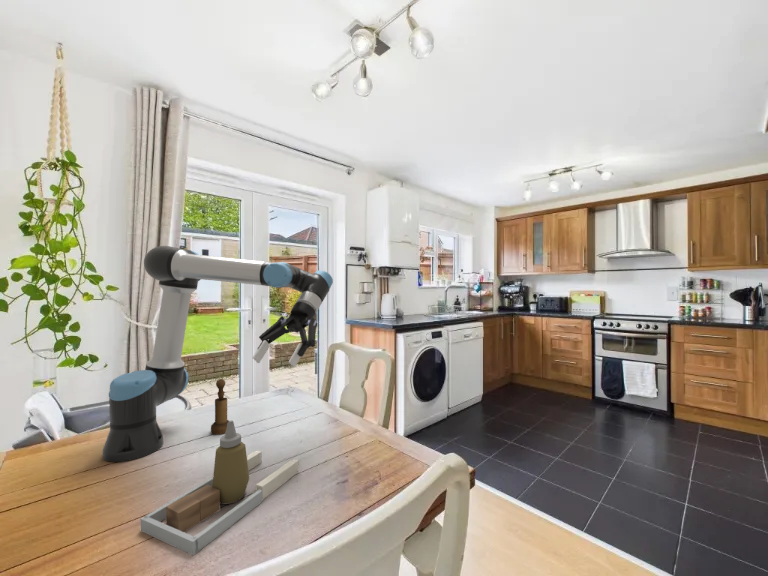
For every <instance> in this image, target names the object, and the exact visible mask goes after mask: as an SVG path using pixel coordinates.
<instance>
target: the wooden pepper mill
mask: <svg viewBox="0 0 768 576" xmlns="http://www.w3.org/2000/svg"><path fill="white" fill-rule="evenodd" d="M215 386H216V388H217V390H218V391H217V398H215V399H214V422H212V424H211V426H210V433H211V434H213V435H223V434H224V435H225V433H226V429H227V424H228V421H230V420H229V419H228V398H227V397H225V391H224V388H225V386H226V380H225V379H222V378H220V379H218V380H216V382H215Z"/></svg>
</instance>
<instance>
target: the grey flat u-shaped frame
mask: <svg viewBox="0 0 768 576" xmlns="http://www.w3.org/2000/svg"><path fill="white" fill-rule="evenodd" d="M206 485H209V486H211V487H212V485H213V476H211V477H210V478H208V479H206V480H205V481H203V482H201V483H200V484H197V485H195V486H193V487H192V488H190V489H189V490H187V491H186V492H184V493H182V494H180V495H179V496H177V497H175V498H174V499H172V500H170V501H169V502H167V503H164V504H163V505H161V506H160V507H158V508H156V509H155V510H153V511H151V512H150V513H148V514H146V515H144V516H143V517H141V518H140V532H142V533H144V534H147V535H149V536H151V537H153V538H155V539H157V540H160V541H161V542H164V543H165V544H168V545H170V546H172V547H173V548H174V547H175V548H176V549H178V550H181V551H182V552H186V553H188V554H189V555H191V556H195V555H196V554H197V553H198V552H200V550H202V549H203V548H205V547H206V546H207V545H208V544H210V543H211V542H212V541H214V540H215V539H216V538H217V537H219V536H220V535H221V534H222V533H224V532H225V531H226V530H227V529H229V528H230V527H231V526H233V525H234V524H235V523H237V522H238V521H239V520H241V519H242V518H243V517H244V516H246V515H247V514H248V513H250V511H252V510H254V508H256V507H257V506H259V505H260V504H261V503H263V500H264V499H263V490H260V489H259V490H258V491H257V492H256V491H254V493H252V494H251V495H250V496H248V497H247V498H246V499H244V500H243V501H241V502H240V503H239V504H237V505H235V507H233V508H232V509H230V510H229V511H228V512H226V513H225V514H224V515H222V516H221V517H219V518H218V519H217V520H215V521H214V522H212V523H211V524H209V525H208V526H207V527H205V528H204V529H203V530H202V531H200V532H198V533H197V534H196V535H191V534H189V533H186V531H185V532H182V531H180V530H178V529H175V528H173V527H171V526H168V525H166V524H165V523H163V522H162V521H164V520H166V506H168V505H170V504H172V503H174V502H176V501H177V500H179V499H181V498H183V497H185V496H187V495H189V494H191V493H193V492H195V491H197V490H199V489H201V488H203V487H204V486H206Z"/></svg>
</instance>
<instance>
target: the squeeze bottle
mask: <svg viewBox="0 0 768 576" xmlns="http://www.w3.org/2000/svg"><path fill="white" fill-rule="evenodd" d="M247 456H248V455H247V447H246V444H245V443H244V442H243V441H242V434H241V433H239V432H237V431H236V427H235V423H234V420H229V421H228V424H227V429H226V433H224V435H222V436H221V437H220V438H219V446H218V447H217V448H216V449H215V457H214V466H213V475H212V477H213V485H212V487H214V488H216V489H218V490H220V504H222V505H228V504H234V503H236V502H238V501H240V500H241V499H243V497H244V496H245V493H246V491H247V488H248V485H249V480H250V474H249V473H250V472H249V471H250V470H249V471H248V463H247Z"/></svg>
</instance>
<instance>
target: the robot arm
mask: <svg viewBox="0 0 768 576" xmlns="http://www.w3.org/2000/svg"><path fill="white" fill-rule="evenodd" d="M143 266H144V267H143V268H144V270H145V272H146V273H147V274H148V275H149V276H150V277H151V278H152V279H154V280H157V281H158V286H159V287H160V288H161V289H162V295H161V300H160V301H161V302H160V308H159V314H158V319H157V327H156V334H155V338H154V339H155V340H154V345H153V351H152V357H151V358H150V359H149V360H148V361H146V363H145V367H144V368H145V369H141V370H134V371H132V372H127V373H123V374H121V375H119V376H117V377H115V378H113V379H112V380H111V382H110V384H109V391H108V399H109V400H108V401H109V432H108V434H107V437H106V440H105V443H104V445H103V448H102V460H104V461H105V460H106V461H105V462H109V463H110V462H113V463H117V462H118V463H120V462H126V461H130V460H131V461H132V460H135V459H139V458H143V457H145V456H147V455H151V454H153V453H154V452H156V451H158V450H160V449H161V448H162V447H163V444H164V435H163V433H162V430H161V428H160V426H159V424H158V420H157V407H158V406H160V405H162V404H164V403H166V402H168V401H170V400H174V399H176V398H177V397H178V396H179V395H181V394H182V393H183V392H184V391H185V390H186V389H187V386H188V383H189V373H188V371H187V370H186V368H185V364H186V363H185V362H184V360H182V354H183V348H184V347H183V346H184V342H185V341H184V340H185V335H186V330H187V328H186V327H187V321H188V317H189V312H190V311H189V310H190V305H191V304H190V302H191V299H192V298H191V297H192V293H194V292H195V291H197V290H198V284H199V282H200V281H202V280H203V281H204V280H205V281H215V282H217V281H218V282H224V283H235V284H236V283H237V284H244V285H245V284H246V285H255V286H265V287H272V288H276V289H279V288H290V289H292V290H295V291H297V292H300V293H301V294H299V297H298V298H297V300H296V302H295V303H294V305H293V307H292V308H291V310H290V313H289V314H290V315H289V316H288V317H287V318H286V317H285V318H284V316H283V315H282V316H280V317H279V318H278V319H277V321H275V323H273V324H272V325H271V326H270V327H268V328H267V329H266V330H265V331H264V332H262V334H260V336H259V337H258V338H259V339H260V342H261V343H260V344H259V345H258V347H257V350H256V352H255V353H254V354H253V356H252V359H253V360H254V361H255V362H256V363H257V364H260V363H261V361H262V359H263V358H264V356H265V355H266V354H267V351H268V350H269V349H270V347H271V345H270V344H271V343H273V342H274V341H276V340H277V339H279V338H281V337H283V335H285V334H286V335H287V334H289V333H296V334H298V333H299V336H300V342H299V343H298V344H297V346H296V348H295V349H294V352H293V353H292V355H291V357H290V359H289V360H288V364H290V366H291V367H292V368H296V367H297V365H298V363H299V361H300V359H301V357H303V356H304V355H305V353H306V351H307V349H309V348H310V347H311V348H314V347H315V346H316V328H317V326H318V322H317V321H316V319H315V316H316V314H317V312H318V311H319V309H320V307H321V306H322V304H323V302H324V300H325V298H326V297H327V295H328V293H329V292H330V289H331V287H332V285H333V283H334V282H333V281H334V279H333V277H332V275H331V274H330V273H329V272H327V271H325V270H321V269H320V270H319V269H318V270H316V271H315V272H313V273H312V272H309V271H306V270H304V269H302V268H299V267H298V266H295V265H292V263H287V262H285V261H280V262H277V261H275V262H271V261H263V260H262V261H261V260H254V259H253V260H252V259H251V260H250V259H243V258H234V257H224V256H223V257H221V256H214V255H213V256H211V255H205V254H204V255H203V254H199V253H198V252H195V251H194V250H193V251H192V250H190V249H187V248H179V247H173V246H169V245H159V246H156V247H153V248H151V249H150V250H149V251H148V252H146V254H145V257H144V259H143ZM307 327H308V330H307V331H308V333H307V331H306V328H307ZM307 334H308V335H307Z"/></svg>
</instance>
